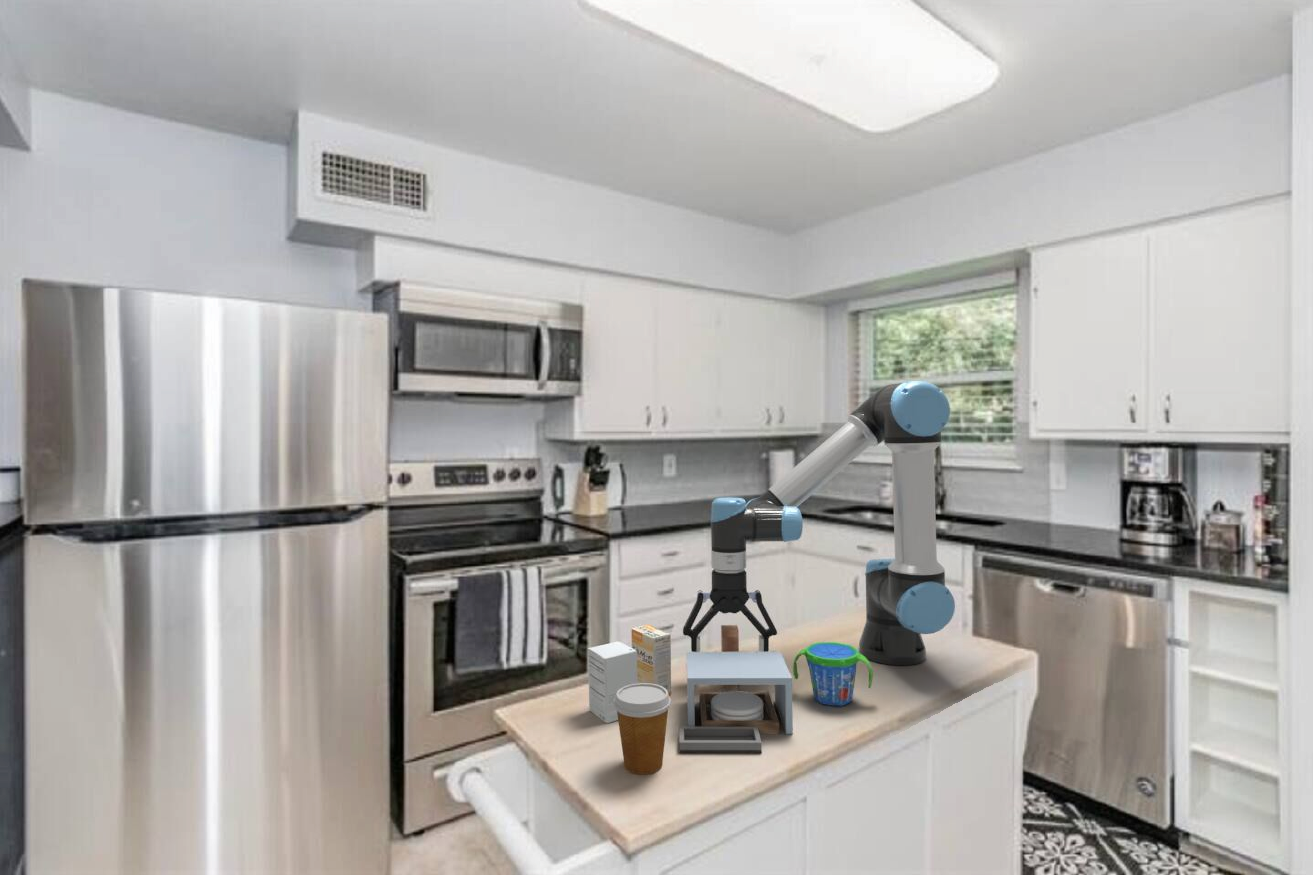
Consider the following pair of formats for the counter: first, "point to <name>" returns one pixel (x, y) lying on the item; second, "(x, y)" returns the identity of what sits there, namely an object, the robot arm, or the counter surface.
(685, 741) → the tray
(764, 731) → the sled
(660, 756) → the disposable coffee cup
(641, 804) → the counter surface
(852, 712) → the counter surface
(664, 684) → the supplement box
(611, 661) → the supplement box
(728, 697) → the round grey tin
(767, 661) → the tunnel
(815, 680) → the snack cup
